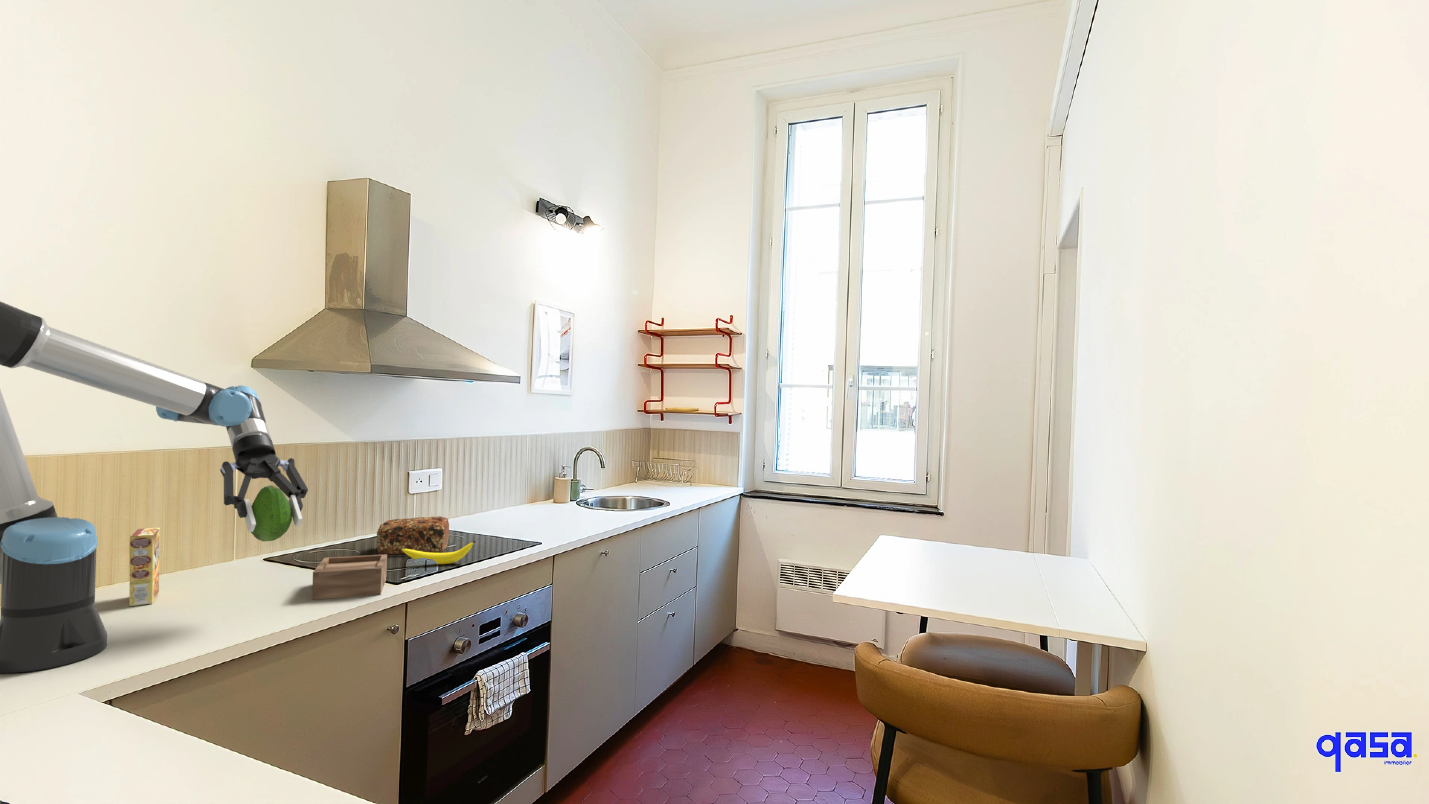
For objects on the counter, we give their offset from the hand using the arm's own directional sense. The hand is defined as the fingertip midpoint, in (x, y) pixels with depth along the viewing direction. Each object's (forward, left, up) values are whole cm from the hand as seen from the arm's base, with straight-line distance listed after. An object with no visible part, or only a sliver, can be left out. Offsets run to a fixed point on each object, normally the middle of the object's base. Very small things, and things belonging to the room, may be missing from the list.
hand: (276, 525), depth 138 cm
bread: (+54, -24, -20) cm, 62 cm away
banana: (+35, -31, -19) cm, 51 cm away
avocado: (+3, +2, -4) cm, 5 cm away
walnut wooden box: (+17, -12, -19) cm, 28 cm away
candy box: (+19, +29, -19) cm, 40 cm away
